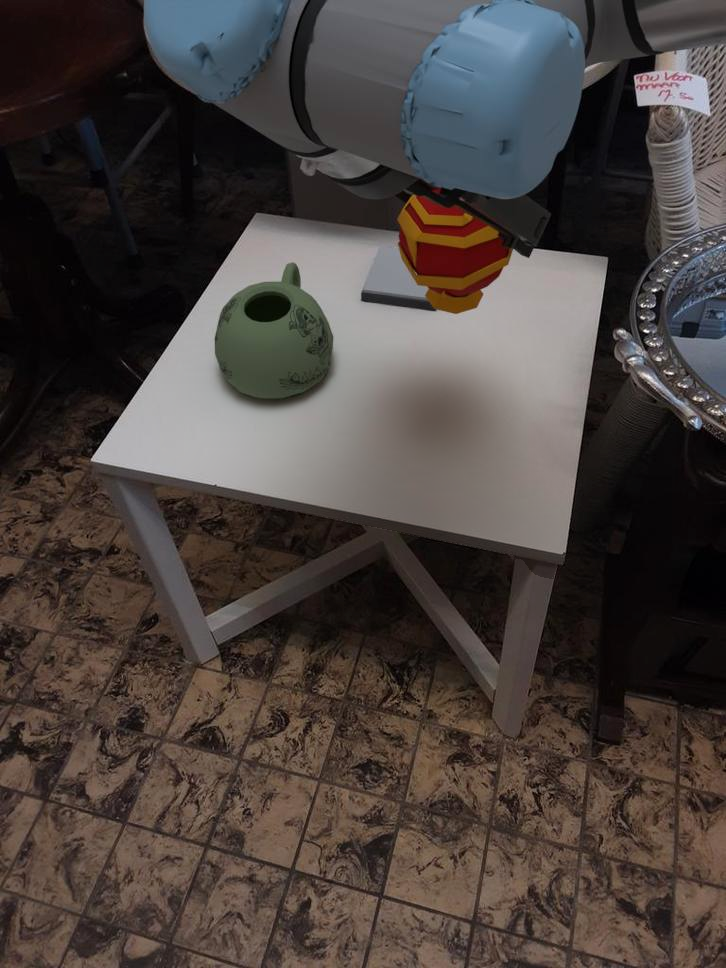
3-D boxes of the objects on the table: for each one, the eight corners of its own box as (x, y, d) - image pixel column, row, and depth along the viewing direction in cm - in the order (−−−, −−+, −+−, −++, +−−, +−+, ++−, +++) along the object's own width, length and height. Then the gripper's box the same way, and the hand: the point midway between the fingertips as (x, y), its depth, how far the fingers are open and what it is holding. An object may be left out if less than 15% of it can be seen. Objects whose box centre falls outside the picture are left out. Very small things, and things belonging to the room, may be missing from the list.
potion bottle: (518, 331, 67) (543, 170, 55) (398, 334, 67) (398, 174, 55) (505, 256, 73) (525, 98, 61) (396, 259, 74) (395, 103, 62)
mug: (318, 416, 81) (310, 355, 74) (203, 398, 83) (185, 338, 76) (354, 316, 90) (350, 253, 83) (250, 303, 92) (237, 241, 86)
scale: (449, 263, 95) (450, 252, 94) (435, 310, 90) (436, 300, 89) (379, 255, 97) (378, 244, 96) (361, 300, 92) (360, 290, 91)
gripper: (205, 128, 53) (357, 218, 72) (488, 242, 44) (574, 309, 63) (245, 15, 51) (390, 139, 71) (549, 109, 42) (619, 221, 62)
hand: (477, 220), depth 67 cm, fingers closed on potion bottle, 10 cm apart
